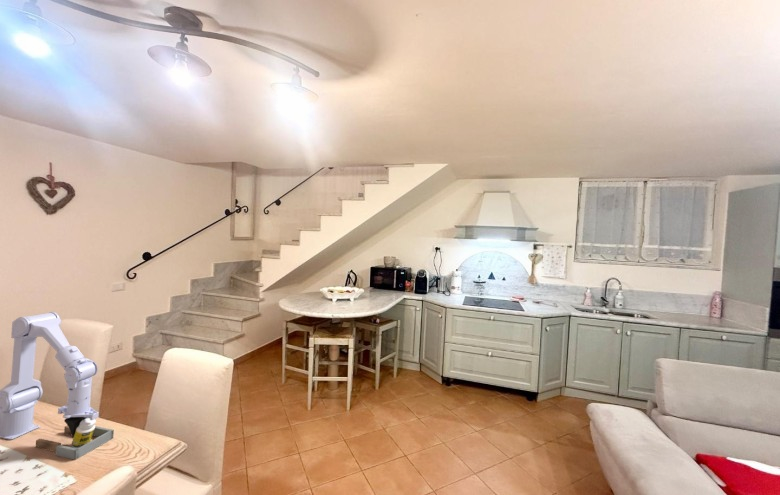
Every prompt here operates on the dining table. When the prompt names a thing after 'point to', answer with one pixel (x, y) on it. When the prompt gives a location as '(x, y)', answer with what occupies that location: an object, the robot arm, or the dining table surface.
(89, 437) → the supplement bottle
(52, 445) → the parallel wooden rails
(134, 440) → the dining table surface
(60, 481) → the dining table surface
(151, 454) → the dining table surface
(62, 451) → the cradle
